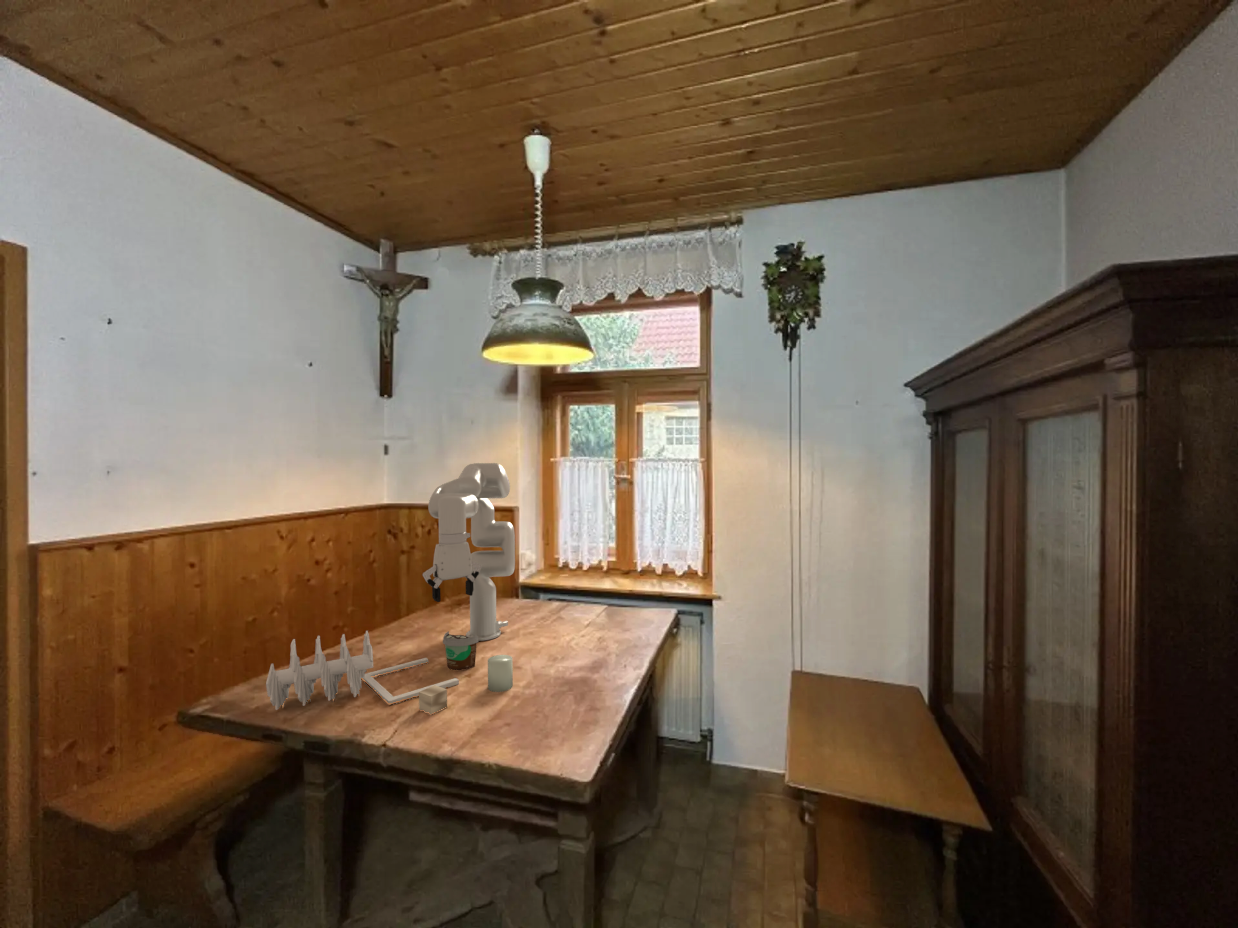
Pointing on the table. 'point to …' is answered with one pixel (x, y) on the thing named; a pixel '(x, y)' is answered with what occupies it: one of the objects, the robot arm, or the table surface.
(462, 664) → the food container
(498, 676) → the pale green cylinder
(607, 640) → the table surface
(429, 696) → the birch block
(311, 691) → the spiral staircase
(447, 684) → the corral
